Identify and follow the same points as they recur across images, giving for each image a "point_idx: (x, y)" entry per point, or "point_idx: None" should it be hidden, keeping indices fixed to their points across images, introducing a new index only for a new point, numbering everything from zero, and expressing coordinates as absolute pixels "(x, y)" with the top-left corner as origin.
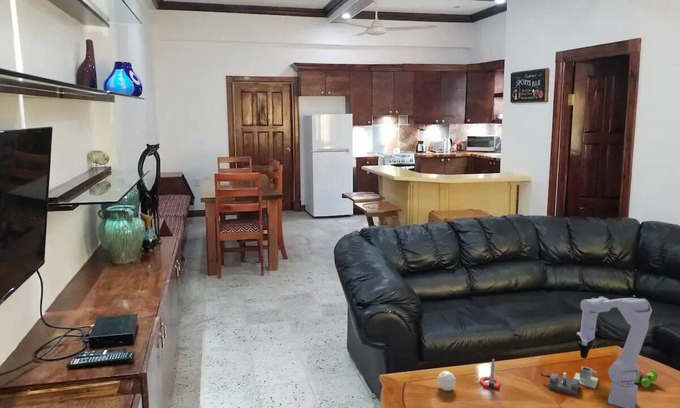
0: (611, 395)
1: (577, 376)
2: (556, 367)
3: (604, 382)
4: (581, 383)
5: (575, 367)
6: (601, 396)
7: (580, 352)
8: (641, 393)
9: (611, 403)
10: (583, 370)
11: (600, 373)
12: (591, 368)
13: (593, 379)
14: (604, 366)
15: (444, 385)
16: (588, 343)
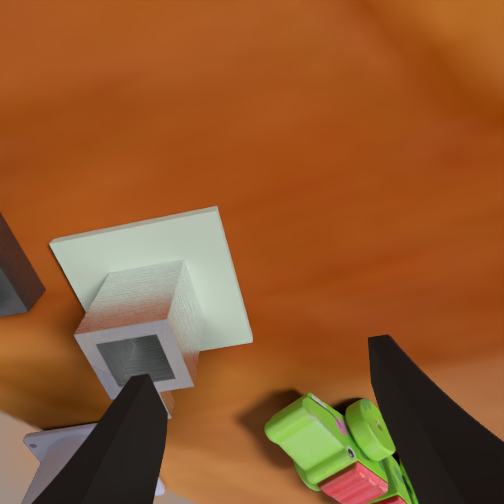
0: (38, 472)
1: (158, 242)
2: (193, 13)
3: (248, 366)
4: (79, 296)
5: (335, 161)
6: (65, 398)
7: (87, 439)
8: (272, 484)
9: (30, 448)
10: (84, 353)
11: (360, 319)
12: (187, 381)
13: (212, 328)
14: (497, 306)
15: None
16: (426, 501)
